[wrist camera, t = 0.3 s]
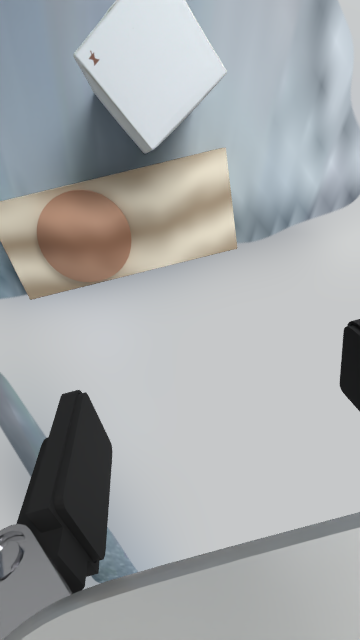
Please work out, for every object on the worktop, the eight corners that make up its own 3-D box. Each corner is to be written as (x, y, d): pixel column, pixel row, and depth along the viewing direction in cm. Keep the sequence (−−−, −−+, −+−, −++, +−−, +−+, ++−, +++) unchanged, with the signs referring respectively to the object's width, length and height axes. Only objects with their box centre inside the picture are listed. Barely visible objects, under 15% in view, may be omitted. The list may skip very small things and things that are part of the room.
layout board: (-10, 203, 33) (-22, 207, 30) (220, 148, 33) (228, 147, 31) (35, 293, 38) (27, 303, 36) (232, 244, 39) (239, 250, 36)
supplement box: (144, 156, 33) (150, 155, 22) (91, 91, 30) (67, 51, 19) (196, 103, 31) (231, 73, 20) (146, 28, 28) (155, -57, 17)
